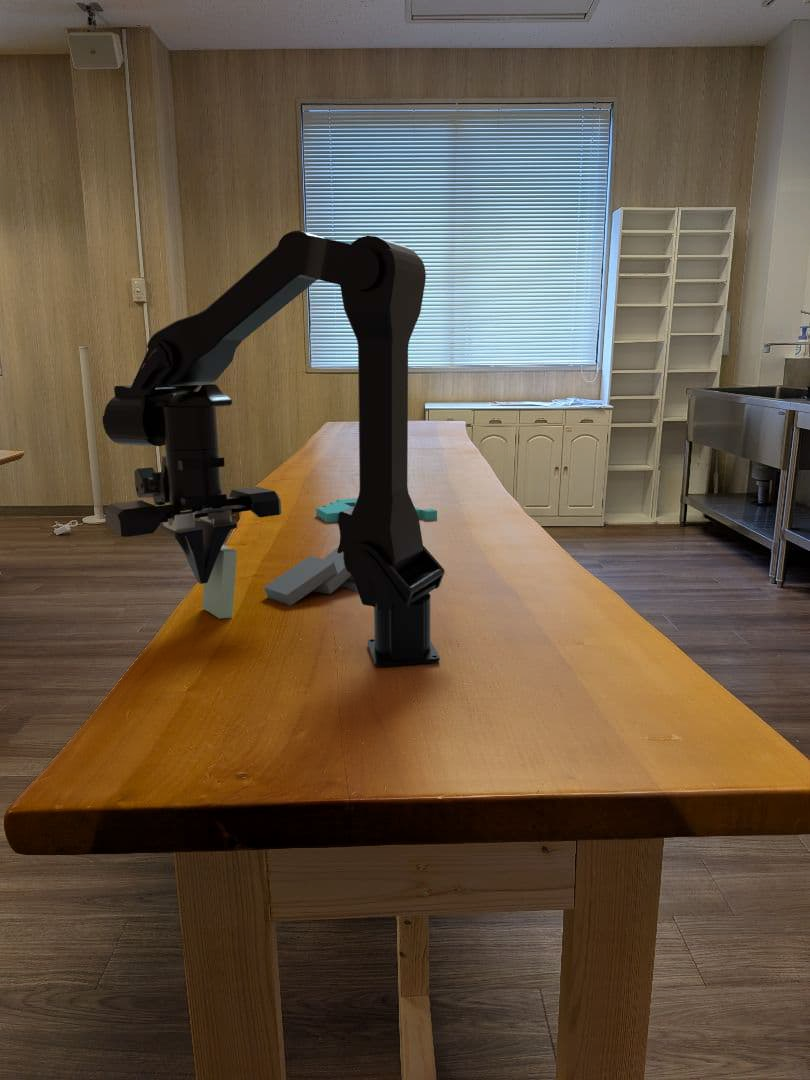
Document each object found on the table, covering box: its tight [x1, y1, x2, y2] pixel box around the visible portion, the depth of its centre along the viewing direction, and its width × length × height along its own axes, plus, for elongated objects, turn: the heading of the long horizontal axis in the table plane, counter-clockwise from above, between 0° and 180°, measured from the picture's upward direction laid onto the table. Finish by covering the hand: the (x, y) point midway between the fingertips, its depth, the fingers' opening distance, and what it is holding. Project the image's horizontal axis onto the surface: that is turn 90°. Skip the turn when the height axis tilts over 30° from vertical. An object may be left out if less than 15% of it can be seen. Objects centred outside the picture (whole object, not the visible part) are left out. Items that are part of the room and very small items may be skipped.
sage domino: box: [201, 544, 238, 620], centre depth 87 cm, size 2×5×8 cm, turn 38°
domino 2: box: [312, 547, 351, 595], centre depth 97 cm, size 2×5×8 cm
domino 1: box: [263, 555, 337, 607], centre depth 93 cm, size 2×5×8 cm
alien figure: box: [315, 497, 438, 523], centre depth 145 cm, size 20×2×20 cm
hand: (202, 582), depth 84 cm, fingers closed
